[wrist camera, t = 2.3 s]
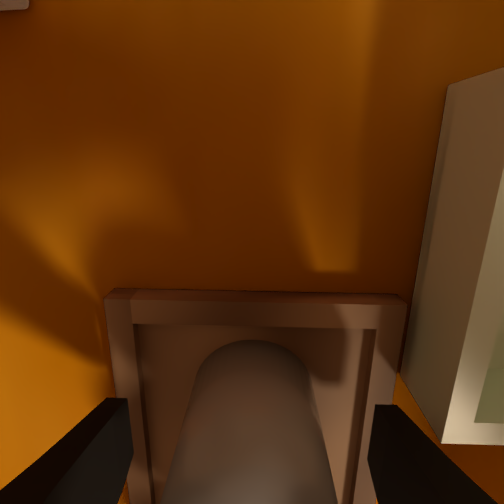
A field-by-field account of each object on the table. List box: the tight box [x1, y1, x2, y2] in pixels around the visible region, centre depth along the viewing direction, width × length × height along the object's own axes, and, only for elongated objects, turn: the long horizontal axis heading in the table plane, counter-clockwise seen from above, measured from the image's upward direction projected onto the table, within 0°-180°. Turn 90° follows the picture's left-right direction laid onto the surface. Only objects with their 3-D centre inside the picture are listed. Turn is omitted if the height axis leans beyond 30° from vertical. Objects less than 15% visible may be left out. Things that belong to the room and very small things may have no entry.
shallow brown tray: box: [103, 288, 408, 504], centre depth 13 cm, size 9×16×1 cm, turn 179°
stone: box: [160, 339, 338, 504], centre depth 9 cm, size 4×4×4 cm
